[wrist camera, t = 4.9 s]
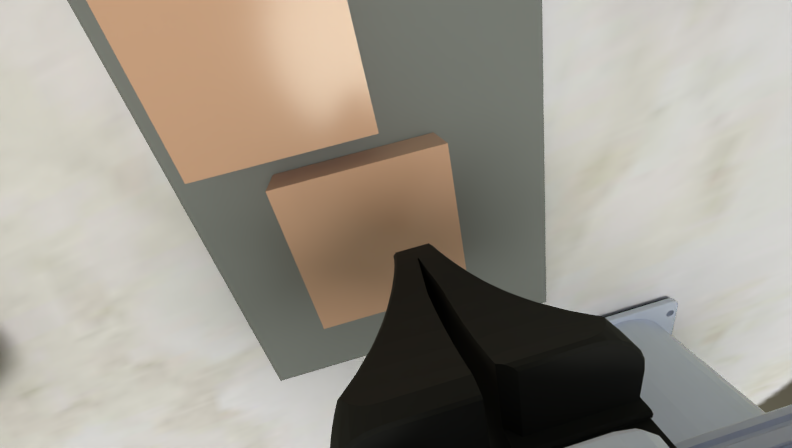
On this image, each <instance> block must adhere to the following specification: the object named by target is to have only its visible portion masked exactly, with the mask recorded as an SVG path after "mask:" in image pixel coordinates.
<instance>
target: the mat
mask: <svg viewBox="0 0 792 448" xmlns="http://www.w3.org/2000/svg"><path fill="white" fill-rule="evenodd" d="M67 1H68V2H69V4H70V6H71V8H72V10H73V11H74V13H75V15H76V17H77V19H78V20H79V22H80V24H81V26H82V27H83V29H84V31H85V33H86V35H87V36H88V38H89V40H90V42H91V43H92V45H93V47H94V49H95V51H96V52H97V54H98V56H99V58H100V60H101V61H102V63H103V65H104V67H105V68H106V70H107V72H108V74H109V76H110V77H111V79H112V81H113V83H114V84H115V86H116V88H117V90H118V92H119V93H120V95H121V97H122V99H123V101H124V102H125V104H126V106H127V108H128V109H129V111H130V113H131V115H132V117H133V118H134V120H135V122H136V124H137V125H138V127H139V129H140V131H141V133H142V134H143V136H144V138H145V140H146V142H147V143H148V145H149V147H150V149H151V150H152V152H153V154H154V156H155V158H156V159H157V161H158V163H159V165H160V166H161V168H162V170H163V172H164V174H165V175H166V177H167V179H168V181H169V183H170V184H171V186H172V188H173V190H174V191H175V193H176V195H177V197H178V199H179V200H180V202H181V204H182V206H183V207H184V209H185V211H186V213H187V215H188V216H189V218H190V220H191V222H192V223H193V225H194V227H195V229H196V231H197V232H198V234H199V236H200V238H201V240H202V241H203V243H204V245H205V247H206V248H207V250H208V252H209V254H210V256H211V257H212V259H213V261H214V263H215V264H216V266H217V268H218V270H219V272H220V273H221V275H222V277H223V279H224V281H225V282H226V284H227V286H228V288H229V289H230V291H231V293H232V295H233V297H234V298H235V300H236V302H237V304H238V305H239V307H240V309H241V311H242V313H243V314H244V316H245V318H246V320H247V322H248V323H249V325H250V327H251V329H252V330H253V332H254V334H255V336H256V338H257V339H258V341H259V343H260V345H261V346H262V348H263V350H264V352H265V354H266V355H267V357H268V359H269V361H270V363H271V364H272V366H273V368H274V370H275V371H276V373H277V375H278V377H279V379H280V380H281V381H282V380H285V379H288V378H292V377H295V376H298V375H302V374H305V373H308V372H312V371H315V370H318V369H322V368H325V367H329V366H332V365H335V364H339V363H342V362H345V361H349V360H352V359H355V358H359V357H362V356H365V355H367V354H368V353H369V351H370V349H371V347H372V345H373V343H374V341H375V338H376V336H377V334H378V332H379V329H380V327H381V324H382V322H383V319H384V316H385V313H386V311H384V312H381V313H378V314H374V315H371V316H367V317H364V318H360V319H357V320H354V321H350V322H347V323H343V324H340V325H336V326H333V327H330V328H326V329H324V328H323V325H322V323H321V321H320V318H319V316H318V314H317V311H316V309H315V307H314V304H313V302H312V300H311V297H310V295H309V293H308V290H307V288H306V285H305V283H304V281H303V278H302V276H301V274H300V271H299V269H298V267H297V264H296V262H295V260H294V257H293V255H292V253H291V250H290V248H289V246H288V243H287V241H286V239H285V236H284V234H283V232H282V229H281V227H280V225H279V222H278V220H277V218H276V215H275V213H274V210H273V208H272V206H271V203H270V201H269V199H268V196H267V194H266V192H265V191H266V189H267V187H268V185H269V183H270V180H271V178H272V176H273V175H274V174H277V173H281V172H285V171H289V170H293V169H296V168H300V167H304V166H308V165H312V164H315V163H319V162H323V161H327V160H331V159H334V158H338V157H342V156H346V155H349V154H353V153H357V152H361V151H365V150H368V149H372V148H376V147H380V146H384V145H387V144H391V143H395V142H399V141H403V140H406V139H410V138H414V137H418V136H422V135H425V134H429V133H433V132H434V133H435V134H436V135H438V136H439V137H440V138H442V139H443V140H444V141H446V142H447V143H448V148H449V155H450V162H451V169H452V176H453V182H454V189H455V196H456V203H457V210H458V217H459V223H460V230H461V237H462V244H463V251H464V258H465V264H466V271H468V272H470V273H471V274H473V275H475V276H476V277H478V278H480V279H482V280H483V281H485V282H487V283H489V284H491V285H493V286H496V287H498V288H500V289H502V290H504V291H507V292H509V293H512V294H514V295H517V296H520V297H523V298H526V299H528V300H531V301H534V302H538V303H543V302H546V264H545V189H544V115H543V40H542V0H347V2H348V6H349V10H350V15H351V19H352V23H353V27H354V31H355V36H356V40H357V44H358V48H359V52H360V57H361V61H362V65H363V69H364V73H365V78H366V82H367V86H368V90H369V94H370V99H371V103H372V107H373V111H374V115H375V120H376V124H377V128H378V132H379V134H375V135H371V136H367V137H364V138H360V139H356V140H352V141H348V142H344V143H341V144H337V145H333V146H329V147H325V148H321V149H318V150H314V151H310V152H306V153H302V154H298V155H295V156H291V157H287V158H283V159H279V160H276V161H272V162H268V163H264V164H260V165H256V166H253V167H249V168H245V169H241V170H237V171H233V172H230V173H226V174H222V175H218V176H214V177H210V178H207V179H203V180H199V181H195V182H191V183H187V184H185V183H184V181H183V179H182V177H181V175H180V174H179V172H178V170H177V168H176V166H175V164H174V162H173V161H172V159H171V157H170V155H169V153H168V151H167V150H166V148H165V146H164V144H163V142H162V140H161V138H160V137H159V135H158V133H157V131H156V129H155V127H154V125H153V124H152V122H151V120H150V118H149V116H148V114H147V112H146V111H145V109H144V107H143V105H142V103H141V101H140V99H139V98H138V96H137V94H136V92H135V90H134V88H133V86H132V85H131V83H130V81H129V79H128V77H127V75H126V74H125V72H124V70H123V68H122V66H121V64H120V62H119V61H118V59H117V57H116V55H115V53H114V51H113V49H112V48H111V46H110V44H109V42H108V40H107V38H106V36H105V35H104V33H103V31H102V29H101V27H100V25H99V23H98V22H97V20H96V18H95V16H94V14H93V12H92V10H91V9H90V7H89V5H88V3H87V1H86V0H67Z"/></svg>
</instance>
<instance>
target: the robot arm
mask: <svg viewBox="0 0 792 448" xmlns="http://www.w3.org/2000/svg"><path fill="white" fill-rule="evenodd" d="M393 257H394V277H393V284H392V290H391V294H390V298H389V302H388V306H387V310H386V313H385V316H384V319H383V322H382V324H381V327H380V329H379V332H378V334H377V336H376V338H375V341H374V343H373V345H372V347H371V349H370V351H369V353H368V354H367V356H366V358H365V360H364V361H363V363H362V365H361V367H360V368H359V370H358V372H357V373H356V375H355V376H354V378H353V379H352V381H351V382H350V383H349V385H348V386H347V388H346V389H345V391H344V392H343V393H342V395H341V396H340V397H339V399H338V400H337V404H336V409H335V414H334V419H333V426H332V434H331V444H330V448H792V404H791V405H788V406H785V407H782V408H780V409H776V410H773V411H770V412H767V413H765V412H764V411H763V410H761V409H760V408H759V407H758V406H757V405H755V404H754V403H753V402H752V401H751V400H749V399H748V398H747V397H746V396H744V395H743V394H742V393H741V392H740V391H738V390H737V389H736V388H735V387H734V386H732V385H731V384H730V383H729V382H727V381H726V380H725V379H724V378H723V377H721V376H720V375H719V374H718V373H717V372H715V371H714V370H713V369H712V368H710V367H709V366H708V365H707V364H706V363H704V362H703V361H702V360H701V359H700V358H698V357H697V356H696V355H695V354H693V353H692V352H691V351H690V350H689V349H687V348H686V347H685V346H684V345H683V344H681V343H680V342H679V341H678V340H676V339H675V338H674V337H673V336H672V335H671V334H672V329H673V325H674V320H675V316H676V311H677V307H678V303H677V302H676V301H675V300H674V299H672V298H668V299H664V300H661V301H658V302H654V303H651V304H648V305H645V306H641V307H638V308H635V309H631V310H628V311H625V312H621V313H618V314H615V315H612V316H608V317H605V318H604V317H600V316H595V315H589V314H584V313H578V312H573V311H568V310H564V309H560V308H556V307H552V306H548V305H544V304H541V303H538V302H534V301H531V300H528V299H526V298H523V297H520V296H517V295H514V294H512V293H509V292H507V291H504V290H502V289H500V288H498V287H496V286H493V285H491V284H489V283H487V282H485V281H483V280H482V279H480V278H478V277H476V276H475V275H473V274H471V273H470V272H468V271H466V270H465V269H463V268H462V267H460V266H459V265H457V264H456V263H454V262H453V261H452V260H450V259H449V258H447V257H446V256H445V255H443V254H442V253H441V252H440V251H438V250H437V249H436V248H435V247H434V246H432V245H431V244H429V243H428V244H424V245H421V246H417V247H414V248H410V249H407V250H403V251H399V252H396V253H395V254H394V256H393Z"/></svg>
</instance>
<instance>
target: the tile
mask: <svg viewBox="0 0 792 448" xmlns="http://www.w3.org/2000/svg"><path fill="white" fill-rule="evenodd" d="M265 192H266V194H267V196H268V199H269V201H270V203H271V206H272V208H273V210H274V213H275V215H276V218H277V220H278V222H279V225H280V227H281V229H282V232H283V234H284V236H285V239H286V241H287V243H288V246H289V248H290V250H291V253H292V255H293V257H294V260H295V262H296V264H297V267H298V269H299V271H300V274H301V276H302V278H303V281H304V283H305V285H306V288H307V290H308V293H309V295H310V297H311V300H312V302H313V304H314V307H315V309H316V311H317V314H318V316H319V318H320V321H321V323H322V325H323V328H324V329H326V328H330V327H333V326H336V325H340V324H343V323H347V322H350V321H354V320H357V319H360V318H364V317H367V316H371V315H374V314H378V313H381V312H384V311H386V310H387V306H388V302H389V298H390V294H391V290H392V284H393V277H394V257H393V256H394V254H395V253H396V252H399V251H403V250H407V249H410V248H414V247H417V246H421V245H424V244H428V243H429V244H431V245H432V246H434V247H435V248H436V249H437V250H438V251H440V252H441V253H442V254H443V255H445V256H446V257H447V258H449V259H450V260H452V261H453V262H454V263H456V264H457V265H459V266H460V267H462V268H463V269H465V270H466V264H465V258H464V251H463V244H462V237H461V230H460V223H459V217H458V210H457V203H456V196H455V189H454V182H453V176H452V169H451V162H450V155H449V148H448V143H447V142H446V141H444V140H443V139H442V138H440V137H439V136H438V135H436V134H435V133H434V132H433V133H429V134H425V135H422V136H418V137H414V138H410V139H406V140H403V141H399V142H395V143H391V144H387V145H384V146H380V147H376V148H372V149H368V150H365V151H361V152H357V153H353V154H349V155H346V156H342V157H338V158H334V159H331V160H327V161H323V162H319V163H315V164H312V165H308V166H304V167H300V168H296V169H293V170H289V171H285V172H281V173H277V174H274V175H273V176H272V178H271V180H270V183H269V185H268V187H267V189H266V191H265Z"/></svg>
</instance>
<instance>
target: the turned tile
mask: <svg viewBox="0 0 792 448" xmlns="http://www.w3.org/2000/svg"><path fill="white" fill-rule="evenodd" d="M86 1H87V3H88V5H89V7H90V9H91V10H92V12H93V14H94V16H95V18H96V20H97V22H98V23H99V25H100V27H101V29H102V31H103V33H104V35H105V36H106V38H107V40H108V42H109V44H110V46H111V48H112V49H113V51H114V53H115V55H116V57H117V59H118V61H119V62H120V64H121V66H122V68H123V70H124V72H125V74H126V75H127V77H128V79H129V81H130V83H131V85H132V86H133V88H134V90H135V92H136V94H137V96H138V98H139V99H140V101H141V103H142V105H143V107H144V109H145V111H146V112H147V114H148V116H149V118H150V120H151V122H152V124H153V125H154V127H155V129H156V131H157V133H158V135H159V137H160V138H161V140H162V142H163V144H164V146H165V148H166V150H167V151H168V153H169V155H170V157H171V159H172V161H173V162H174V164H175V166H176V168H177V170H178V172H179V174H180V175H181V177H182V179H183V181H184V183H185V184H187V183H191V182H195V181H199V180H203V179H207V178H210V177H214V176H218V175H222V174H226V173H230V172H233V171H237V170H241V169H245V168H249V167H253V166H256V165H260V164H264V163H268V162H272V161H276V160H279V159H283V158H287V157H291V156H295V155H298V154H302V153H306V152H310V151H314V150H318V149H321V148H325V147H329V146H333V145H337V144H341V143H344V142H348V141H352V140H356V139H360V138H364V137H367V136H371V135H375V134H379V132H378V128H377V124H376V120H375V115H374V111H373V107H372V103H371V99H370V94H369V90H368V86H367V82H366V78H365V73H364V69H363V65H362V61H361V57H360V52H359V48H358V44H357V40H356V36H355V31H354V27H353V23H352V19H351V15H350V10H349V6H348V2H347V0H86Z"/></svg>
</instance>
